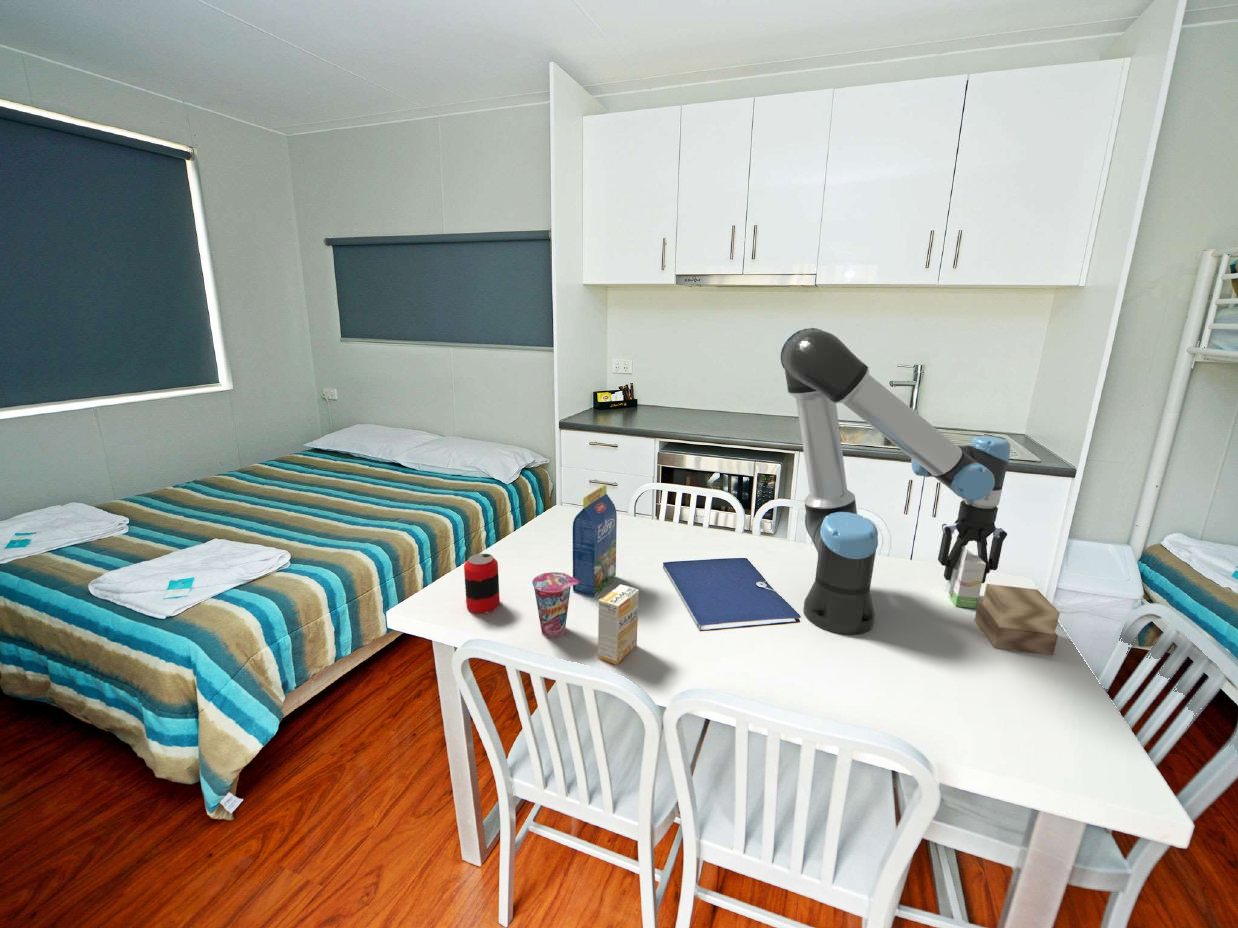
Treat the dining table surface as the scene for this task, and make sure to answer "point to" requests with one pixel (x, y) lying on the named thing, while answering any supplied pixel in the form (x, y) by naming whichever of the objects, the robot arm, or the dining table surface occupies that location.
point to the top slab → (1020, 609)
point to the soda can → (481, 583)
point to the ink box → (967, 579)
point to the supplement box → (617, 623)
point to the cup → (553, 601)
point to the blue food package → (594, 543)
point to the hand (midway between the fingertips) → (961, 592)
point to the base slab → (1013, 636)
